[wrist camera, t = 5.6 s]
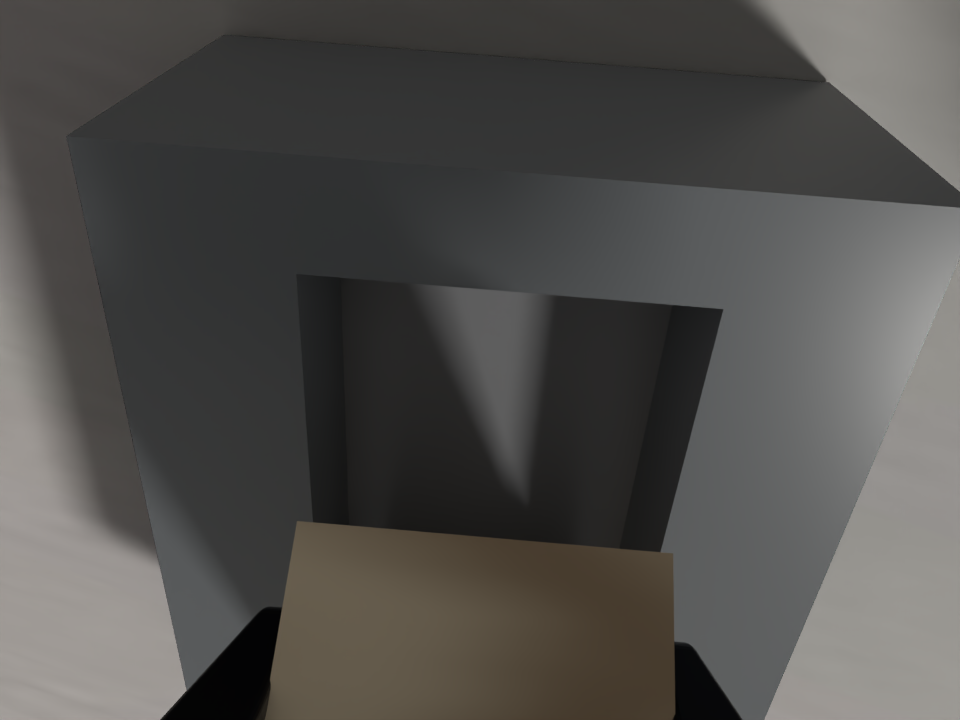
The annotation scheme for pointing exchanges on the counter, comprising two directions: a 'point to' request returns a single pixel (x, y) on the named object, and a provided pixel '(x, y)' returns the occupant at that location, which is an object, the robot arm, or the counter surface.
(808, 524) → the grey hollow block
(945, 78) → the counter surface
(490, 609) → the maple bar
